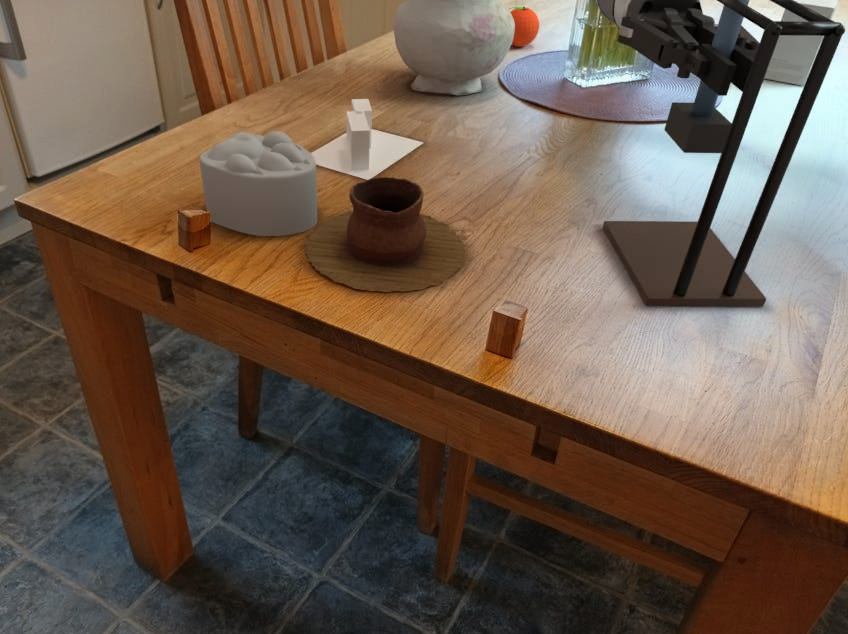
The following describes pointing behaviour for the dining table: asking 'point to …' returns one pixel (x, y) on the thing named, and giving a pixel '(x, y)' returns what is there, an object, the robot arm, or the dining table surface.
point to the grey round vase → (452, 42)
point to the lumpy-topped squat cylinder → (260, 184)
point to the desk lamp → (695, 241)
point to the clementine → (524, 26)
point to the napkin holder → (363, 146)
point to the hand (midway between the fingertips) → (741, 80)
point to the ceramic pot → (386, 241)
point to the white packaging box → (798, 47)
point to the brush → (706, 100)
